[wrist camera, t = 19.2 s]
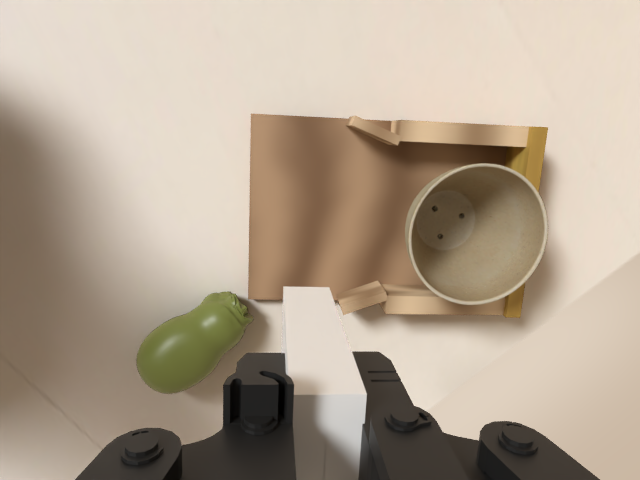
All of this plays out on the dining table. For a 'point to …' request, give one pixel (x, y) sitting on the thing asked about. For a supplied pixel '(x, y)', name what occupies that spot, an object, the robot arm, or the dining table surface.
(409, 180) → the slot board
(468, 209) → the flower pot
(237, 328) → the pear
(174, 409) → the dining table surface
